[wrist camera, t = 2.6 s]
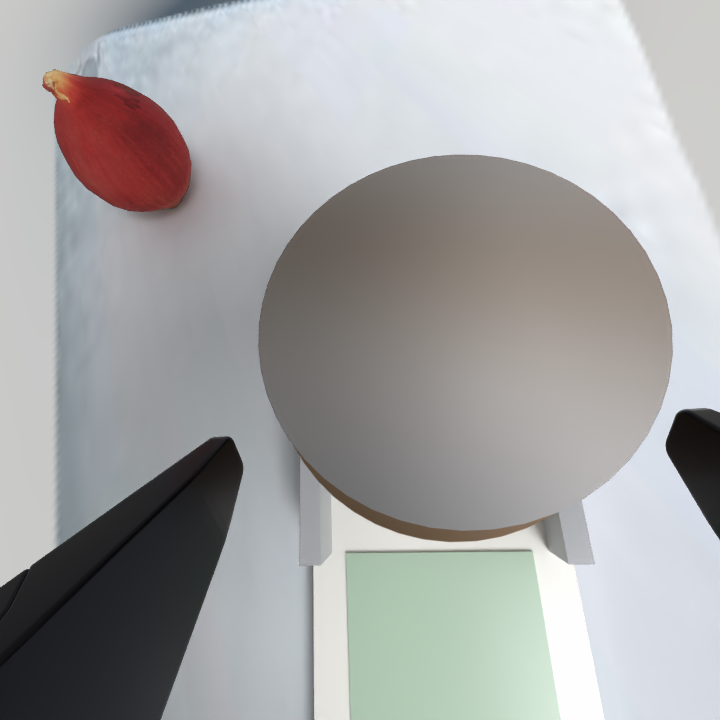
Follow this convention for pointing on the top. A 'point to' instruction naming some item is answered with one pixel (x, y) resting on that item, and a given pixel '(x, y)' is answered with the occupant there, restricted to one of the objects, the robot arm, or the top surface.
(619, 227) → the pepper mill
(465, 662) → the lane rack
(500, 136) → the top surface
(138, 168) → the onion
